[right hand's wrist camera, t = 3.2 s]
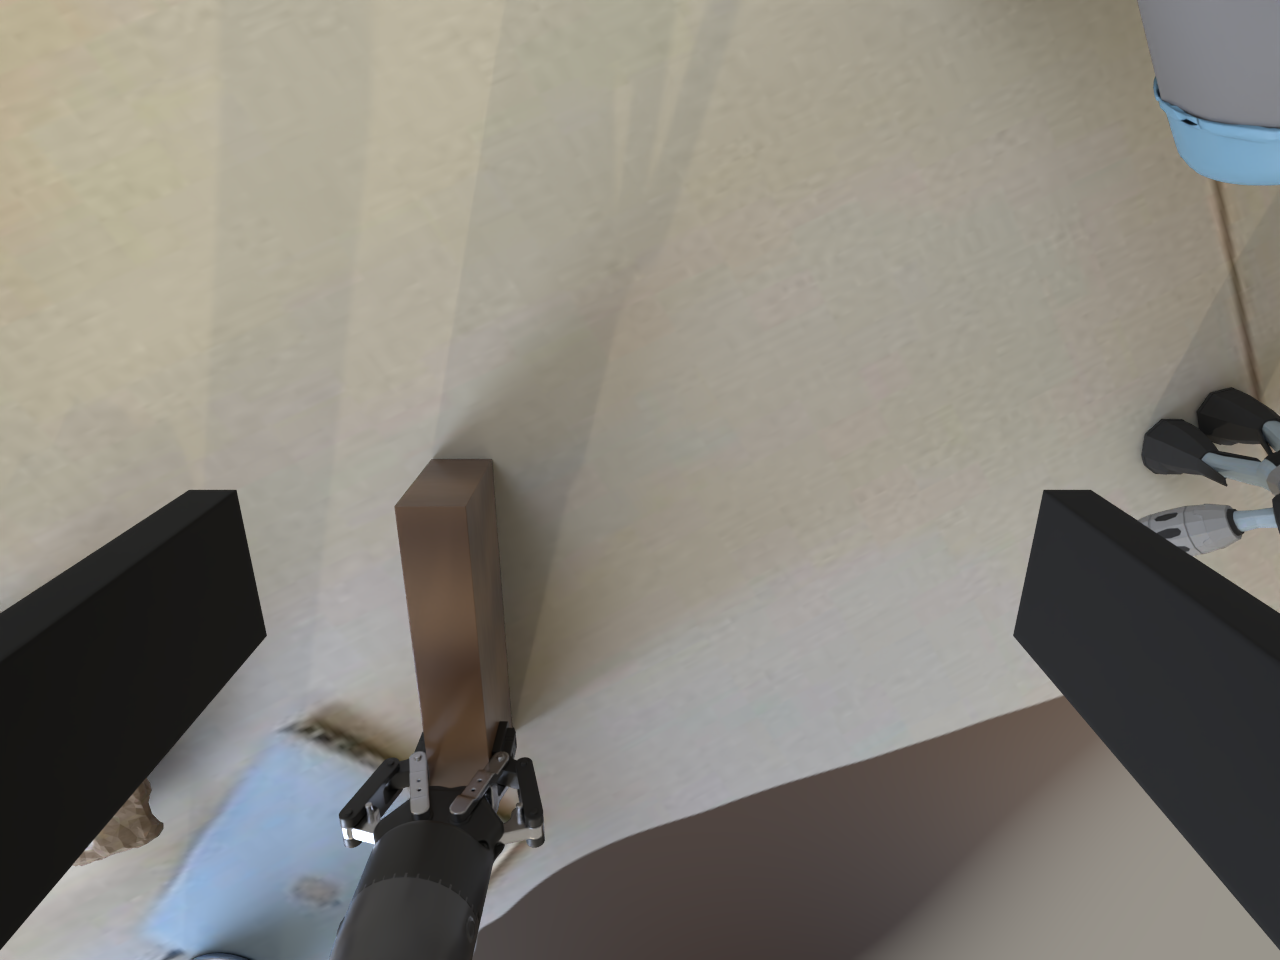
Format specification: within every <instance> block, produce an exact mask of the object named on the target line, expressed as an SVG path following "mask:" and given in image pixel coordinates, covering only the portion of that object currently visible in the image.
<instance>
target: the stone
mask: <svg viewBox="0 0 1280 960" xmlns="http://www.w3.org/2000/svg"><path fill="white" fill-rule="evenodd" d="M150 793H151V786H150V782H149V781H148V779H147V778H146V779H145V780H144V781H143V782H142V783H141V785H140V786H139V787H138V788H137V789H136V790H135V792H134V793H133V794H132V795H131V796H130V798H129V799H128V800H127V801H126V802H125V803H124V805H123V806H122V807H121V808H120V809H119V811H118V812H117V813H116V814H115V815H114V816H113V818H112V819H111V820H110V821H109V822H108V824H107V825H106V826H105V827H104V828H103V829H102V831H101V832H100V833H99V834H98V835H97V836H96V838H95V839H94V840H93V841H92V842H91V844H90V845H89V846H88V847H87V848H86V849H85V851H84V852H83V853H82V854H81V855H80V857H79V858H78V859H77V860H76V861H75V862H74V864H73V866H78V865H80V866H83V865H86V864H88V863H91V862H94V861H96V860H102V859H103V858H106V857H108V856H110V855H113V854H115V853H119V852H123V851H127V850H129V849H131V848H138V847H141V846H143V845H145V844H147V843H149V842H150V841H151V840H153V839H154V838H156V837H158V836H159V835H160V833H161V832H162V830H163V823H162V822H160V821H159V820H158V819H157V818H156V817H155V816H154V815H153V814H152V812H151V810H150V807H149V803H148V801H149V795H150Z"/></svg>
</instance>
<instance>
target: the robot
mask: <svg viewBox="0 0 1280 960" xmlns="http://www.w3.org/2000/svg"><path fill="white" fill-rule="evenodd" d="M1197 415H1198V422H1199V429H1200V430H1199V429H1198V428H1197V427H1195V426H1193V425H1192V424H1190V423H1188V422H1185V421H1184V420H1182V419H1161V420H1160V421H1159V422H1158V423H1157V424H1156V425H1155V426H1153V427H1152V428H1151V429H1150V430H1149V431H1148V432H1147V433H1146V434H1145V437H1144V443H1143V449H1142V459H1143V463H1144V465H1145V466H1146V467H1147V468H1148V469H1150V470H1151V471H1152V472H1153V473H1155V474H1182V473H1187V474H1196V475H1203V476H1205V477H1207V478H1209V479H1212V480H1214V481H1216V482H1218V483H1220V484H1222V485H1224V486H1226V487H1227V484H1226V478H1229V479H1233V480H1237V481H1240V482H1244V483H1247V484H1252V485H1256V486H1260V487H1263V488H1265V489H1267V490H1269V491H1271V492H1272V494H1274V495H1275V497H1274V498H1273V499H1272V502H1273V508H1266V509H1259V510H1250V511H1237V510H1236V509H1232V508H1231V507H1230V506H1227V505H1215V504H1204V505H1193V506H1184V507H1179V508H1175V509H1170V510H1166V511H1162V512H1158V513H1155V514H1152V515H1148V516H1146V517H1143V518H1141V519H1139V520H1137V521H1139V522H1141V523H1142V524H1144V525H1145V526H1147V527H1148V528H1150V529H1151V530H1153V531H1154V532H1156V533H1157V534H1159V535H1160V536H1162V537H1163V538H1165V539H1167V540H1168V541H1170V542H1171V543H1173V544H1174V545H1176V546H1177V547H1179V548H1180V549H1182V550H1183V551H1185V552H1186V553H1188V554H1190V555H1191V556H1194V555H1200V554H1205V553H1209V552H1212V551H1215V550H1218V549H1222V548H1225V547H1227V546H1229V545H1231V544H1232V543H1234V542H1236V541H1238V540H1239V539H1241V537H1242V534H1243V533H1244V531H1248V530H1252V529H1256V528H1278V530H1279V533H1280V416H1279V415H1278V414H1276V413H1275V412H1274V411H1273V410H1272V409H1270V408H1269V407H1267V406H1266V405H1264V404H1262V403H1261V402H1259V401H1258V400H1256V399H1254V398H1253V397H1251V396H1250V395H1248V394H1246V393H1244V392H1242V391H1239V390H1236V389H1234V388H1232V387H1231V388H1227V389H1223V390H1220V391H1216V392H1212V393H1210V394H1209V395H1208V397H1207V398H1206V399H1205V401H1204V402H1203V404H1202V405H1201V407H1200V408H1199V409H1198V411H1197ZM1212 442H1214V443H1217V444H1220V445H1221V444H1223V445H1233V444H1236V443H1244V444H1261V445H1262V447H1263V448H1264V449H1265V451H1266V452H1267V454H1268V456H1267V457H1266V458H1265V459H1264V460H1263V461H1262V462H1261V461H1260V460H1258V459H1257V458H1253V457H1248V456H1242V455H1237V454H1232V453H1226V452H1221V451H1218V449H1217V448H1216V447H1215V445H1214V444H1213V443H1212ZM1268 444H1269V445H1268ZM1269 446H1271V447H1272V448H1273V449H1274V450H1275V451H1276V452H1275V453H1273V452H1272V450H1271V449H1270V447H1269Z"/></svg>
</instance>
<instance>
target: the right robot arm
mask: <svg viewBox="0 0 1280 960" xmlns="http://www.w3.org/2000/svg"><path fill="white" fill-rule="evenodd" d="M1137 2H1138V6H1139V10H1140V14H1141V18H1142V22H1143V26H1144V30H1145V34H1146V38H1147V42H1148V46H1149V51H1150V55H1151V59H1152V63H1153V67H1154V71H1155V75H1156V76H1155V79H1154V87H1153V88H1154V94H1155V98H1156V100H1157V101H1159V104H1160V107H1161V108H1162V109H1163V110H1164V111H1165V112H1166V114H1167V118H1168V121H1169V124H1170V127H1171V131H1172V134H1173V137H1174V140H1175V144H1176V147H1177V150H1178V153H1179V154H1180V156H1181V157H1182V158H1183V159H1184V161H1185V162H1186V163H1187V164H1188V165H1189V167H1190V168H1192V169H1194V170H1195V171H1196V172H1197V173H1199V174H1200V175H1203V176H1205V177H1208V178H1210V179H1214V180H1217V181H1221V182H1226V183H1232V184H1240V185H1280V0H1137ZM266 636H267V634H266V630H265V625H264V620H263V615H262V611H261V606H260V601H259V596H258V591H257V587H256V582H255V577H254V572H253V567H252V563H251V558H250V553H249V548H248V543H247V539H246V534H245V529H244V524H243V519H242V515H241V510H240V505H239V500H238V495H237V491H236V490H188V491H187V492H185V493H184V494H182V495H181V496H179V497H178V498H176V499H175V500H173V501H172V502H170V503H169V504H167V505H165V506H164V507H162V508H161V509H159V510H158V511H156V512H155V513H153V514H152V515H150V516H149V517H147V518H146V519H144V520H143V521H141V522H139V523H138V524H136V525H135V526H133V527H132V528H130V529H129V530H127V531H126V532H124V533H123V534H121V535H120V536H118V537H117V538H115V539H113V540H112V541H110V542H109V543H107V544H106V545H104V546H103V547H101V548H100V549H98V550H97V551H95V552H94V553H92V554H90V555H89V556H87V557H86V558H84V559H83V560H81V561H80V562H78V563H77V564H75V565H74V566H72V567H71V568H69V569H68V570H66V571H64V572H63V573H61V574H60V575H58V576H57V577H55V578H54V579H52V580H51V581H49V582H48V583H46V584H45V585H43V586H42V587H40V588H38V589H37V590H35V591H34V592H32V593H31V594H29V595H28V596H26V597H25V598H23V599H22V600H20V601H19V602H17V603H16V604H14V605H12V606H11V607H9V608H8V609H6V610H5V611H3V612H2V613H0V950H1V949H2V947H3V946H4V945H5V944H6V943H7V941H8V940H9V939H10V938H11V937H12V936H13V934H14V933H15V932H16V931H17V930H18V928H19V927H20V926H21V925H22V924H23V923H24V921H25V920H26V919H27V918H28V917H29V916H30V914H31V913H32V912H33V911H34V910H35V908H36V907H37V906H38V905H39V904H40V903H41V901H42V900H43V899H44V898H45V897H46V895H47V894H48V893H49V892H50V891H51V890H52V888H53V887H54V886H55V885H56V884H57V882H58V881H59V880H60V879H61V878H62V877H63V875H64V874H65V873H66V872H67V871H68V870H69V868H70V867H71V866H72V865H73V864H74V862H75V861H76V860H77V859H78V858H79V857H80V855H81V854H82V853H83V852H84V851H85V849H86V848H87V847H88V846H89V845H90V844H91V842H92V841H93V840H94V839H95V838H96V836H97V835H98V834H99V833H100V832H101V831H102V829H103V828H104V827H105V826H106V825H107V824H108V822H109V821H110V820H111V819H112V818H113V816H114V815H115V814H116V813H117V812H118V811H119V809H120V808H121V807H122V806H123V805H124V803H125V802H126V801H127V800H128V799H129V798H130V796H131V795H132V794H133V793H134V792H135V790H136V789H137V788H138V787H139V786H140V785H141V783H142V782H143V781H144V780H145V779H146V778H147V776H148V775H149V774H150V773H151V772H152V770H153V769H154V768H155V767H156V766H157V765H158V763H159V762H160V761H161V760H162V759H163V757H164V756H165V755H166V754H167V753H168V752H169V750H170V749H171V748H172V747H173V746H174V744H175V743H176V742H177V741H178V740H179V739H180V737H181V736H182V735H183V734H184V733H185V732H186V730H187V729H188V728H189V727H190V726H191V724H192V723H193V722H194V721H195V720H196V719H197V717H198V716H199V715H200V714H201V713H202V711H203V710H204V709H205V708H206V707H207V706H208V704H209V703H210V702H211V701H212V700H213V698H214V697H215V696H216V695H217V694H218V693H219V691H220V690H221V689H222V688H223V687H224V686H225V684H226V683H227V682H228V681H229V680H230V678H231V677H232V676H233V675H234V674H235V673H236V671H237V670H238V669H239V668H240V667H241V665H242V664H243V663H244V662H245V661H246V660H247V658H248V657H249V656H250V655H251V654H252V652H253V651H254V650H255V649H256V648H257V647H258V645H259V644H260V643H261V642H262V641H263V640H264V638H265V637H266ZM1013 636H1014V637H1015V638H1016V640H1017V641H1018V642H1019V643H1020V644H1021V645H1022V647H1023V648H1024V649H1025V650H1026V651H1027V652H1028V654H1029V655H1030V656H1031V657H1032V658H1033V660H1034V661H1035V662H1036V663H1037V664H1038V665H1039V667H1040V668H1041V669H1042V670H1043V671H1044V673H1045V674H1046V675H1047V676H1048V677H1049V678H1050V680H1051V681H1052V682H1053V683H1054V684H1055V686H1056V687H1057V688H1058V689H1059V690H1060V691H1061V693H1062V694H1063V695H1064V696H1065V697H1066V698H1067V700H1068V701H1069V702H1070V703H1071V704H1072V706H1073V707H1074V708H1075V709H1076V710H1077V711H1078V713H1079V714H1080V715H1081V716H1082V717H1083V719H1084V720H1085V721H1086V722H1087V723H1088V724H1089V726H1090V727H1091V728H1092V729H1093V730H1094V732H1095V733H1096V734H1097V735H1098V736H1099V737H1100V739H1101V740H1102V741H1103V742H1104V743H1105V744H1106V746H1107V747H1108V748H1109V749H1110V750H1111V752H1112V753H1113V754H1114V755H1115V756H1116V757H1117V759H1118V760H1119V761H1120V762H1121V763H1122V765H1123V766H1124V767H1125V768H1126V769H1127V770H1128V772H1129V773H1130V774H1131V775H1132V776H1133V778H1134V779H1135V780H1136V781H1137V782H1138V783H1139V785H1140V786H1141V787H1142V788H1143V789H1144V790H1145V792H1146V793H1147V794H1148V795H1149V796H1150V798H1151V799H1152V800H1153V801H1154V802H1155V803H1156V805H1157V806H1158V807H1159V808H1160V809H1161V810H1162V812H1163V813H1164V814H1165V815H1166V816H1167V818H1168V819H1169V820H1170V821H1171V822H1172V823H1173V825H1174V826H1175V827H1176V828H1177V829H1178V831H1179V832H1180V833H1181V834H1182V835H1183V836H1184V838H1185V839H1186V840H1187V841H1188V842H1189V844H1190V845H1191V846H1192V847H1193V848H1194V849H1195V851H1196V852H1197V853H1198V854H1199V855H1200V857H1201V858H1202V859H1203V860H1204V861H1205V862H1206V864H1207V865H1208V866H1209V867H1210V868H1211V870H1212V871H1213V872H1214V873H1215V874H1216V875H1217V877H1218V878H1219V879H1220V880H1221V881H1222V882H1223V884H1224V885H1225V886H1226V887H1227V888H1228V890H1229V891H1230V892H1231V893H1232V894H1233V895H1234V897H1235V898H1236V899H1237V900H1238V901H1239V903H1240V904H1241V905H1242V906H1243V907H1244V908H1245V910H1246V911H1247V912H1248V913H1249V914H1250V916H1251V917H1252V918H1253V919H1254V920H1255V921H1256V923H1257V924H1258V925H1259V926H1260V927H1261V928H1262V930H1263V931H1264V932H1265V933H1266V934H1267V936H1268V937H1269V938H1270V939H1271V940H1272V941H1273V943H1274V944H1275V945H1276V946H1277V947H1278V949H1279V950H1280V613H1278V612H1277V611H1275V610H1274V609H1272V608H1271V607H1269V606H1268V605H1266V604H1264V603H1263V602H1261V601H1260V600H1258V599H1257V598H1255V597H1254V596H1252V595H1251V594H1249V593H1248V592H1246V591H1245V590H1243V589H1242V588H1240V587H1238V586H1237V585H1235V584H1234V583H1232V582H1231V581H1229V580H1228V579H1226V578H1225V577H1223V576H1222V575H1220V574H1219V573H1217V572H1216V571H1214V570H1212V569H1211V568H1209V567H1208V566H1206V565H1205V564H1203V563H1202V562H1200V561H1199V560H1197V559H1196V558H1194V557H1193V556H1191V555H1190V554H1188V553H1186V552H1185V551H1183V550H1182V549H1180V548H1179V547H1177V546H1176V545H1174V544H1173V543H1171V542H1170V541H1168V540H1167V539H1165V538H1163V537H1162V536H1160V535H1159V534H1157V533H1156V532H1154V531H1153V530H1151V529H1150V528H1148V527H1147V526H1145V525H1144V524H1142V523H1141V522H1139V521H1137V520H1136V519H1134V518H1133V517H1131V516H1130V515H1128V514H1127V513H1125V512H1124V511H1122V510H1121V509H1119V508H1118V507H1116V506H1115V505H1113V504H1111V503H1110V502H1108V501H1107V500H1105V499H1104V498H1102V497H1101V496H1099V495H1098V494H1096V493H1095V492H1093V491H1092V490H1044V491H1043V495H1042V500H1041V505H1040V510H1039V515H1038V519H1037V524H1036V529H1035V534H1034V539H1033V543H1032V548H1031V553H1030V558H1029V563H1028V567H1027V572H1026V577H1025V582H1024V587H1023V591H1022V596H1021V601H1020V606H1019V611H1018V615H1017V620H1016V625H1015V630H1014V634H1013Z"/></svg>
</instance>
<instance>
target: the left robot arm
mask: <svg viewBox="0 0 1280 960" xmlns="http://www.w3.org/2000/svg"><path fill="white" fill-rule="evenodd" d="M516 748H517V744H516V732H515V729H514V728H509V721H500V722H499V726H498V730H497V734H496V737H495V741H494V745H493V749H492V758H491V759H490V761H489V762H488V764H487V765H486V766H485V768H484V769H483V770H481V769H479V770H478V771H477V772H476V774H475V775H474V777H473V778H472V779H471V781H470V782H469V784H468V785H467V786H459V787H454V788H447V787H443V786H430V780H429V772H428V764H427V756H426V749H425V741H424V733H423V732H422V735H421V738H420V740H419V742H418V745H417V747H416V750H415V752H414V753H413V754H412V755H411V756H410V757H409V759H407V760H404V761H400V762H399V760H398V759H397V758H388V759H386V760H385V761H384V762H383V763H382V764H381V765H380V766H379V767H378V768H377V770H376V771H375V772H374V773H373V774H372V775H371V777H370V778H369V779H368V780H367V781H366V782H365V784H364V785H363V786H362V787H361V788H360V789H359V791H358V792H357V793H356V794H355V795H354V796H353V798H352V799H351V800H350V801H349V802H348V803H347V805H346V806H345V807H344V808H343V809H342V810H341V812H340V813H339V818H340V824H341V829H342V835H343V840H344V845H345V846H346V847H348V848H354V847H356V846H358V845H360V844H361V843H362V841H364V842H368V843H372V844H375V846H374V847H373V849H372V852H371V854H370V857H369V859H368V862H367V864H366V866H365V869H364V871H363V874H362V876H361V879H360V881H359V884H358V886H357V889H356V891H355V893H354V896H353V898H352V901H351V903H350V906H349V908H348V911H347V913H346V916H345V917H344V918H343V920H342V921H341V923H340V925H339V928H338V931H337V935H336V940H335V942H334V945H333V948H332V951H331V954H330V957H329V960H472V957H473V952H474V948H475V943H476V939H477V934H478V930H479V925H480V920H481V916H482V911H483V907H484V902H485V898H486V893H487V888H488V884H489V879H490V875H491V870H492V866H493V863H494V861H495V859H496V858H497V857H498V856H499V854H500V853H501V852H502V851H503V849H504V846H505V844H509V843H513V842H518V841H522V840H526V841H527V844H528V845H529V846H530V847H533V848H536V847H539V846H541V845H542V844H543V843H544V841H545V836H544V819H543V808H542V804H541V799H540V795H539V790H538V786H537V781H536V776H535V772H534V767H533V763H532V760H531V759H530V758H526V757H524V758H520V759H518V760H514V757H515V752H516ZM409 786H410V799H409V800H407V801H406V802H405V803H403V804H402V805H401V806H399V807H398V808H397V809H395V810H394V811H393V812H391V813H390V814H389V815H387V816H386V817H385V818H383V819H382V820H381V819H380V818H381V817H382V816H383V815H384V813H385V812H386V811H387V809H388V808H389V807H390V806H391V804H392V803H393V802H394V801H395V799H396V798H397V797H398V795H399V794H400V793H401V792H402V790H403V788H405V787H409ZM509 787H511V788H515V789H517V792H518V797H519V803H517V804H516V808H515V809H514V810H513V811H512V813H511V818H510V820H509V821H507V822H505V823H503V822H502V821H501V819H500V818H499V816H498V815H497V814H496V812H497V810H498V807H499V802H500V800H501V799H502V797H503V795H504V794H505V792H506V791H507V789H508V788H509ZM192 960H247V959H245V958H242V957H239V956H236V955H231V954H223V953H213V954H206V955H202V956H199V957H196V958H194V959H192Z"/></svg>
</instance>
